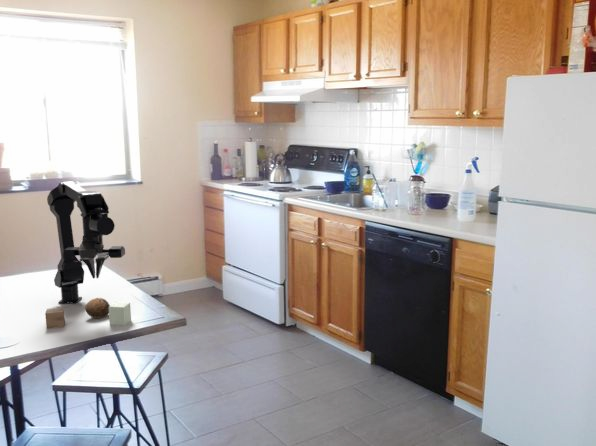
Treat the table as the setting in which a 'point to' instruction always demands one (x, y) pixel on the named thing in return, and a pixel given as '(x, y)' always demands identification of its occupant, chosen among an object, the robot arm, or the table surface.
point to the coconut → (97, 308)
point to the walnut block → (55, 317)
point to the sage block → (119, 313)
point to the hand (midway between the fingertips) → (95, 278)
